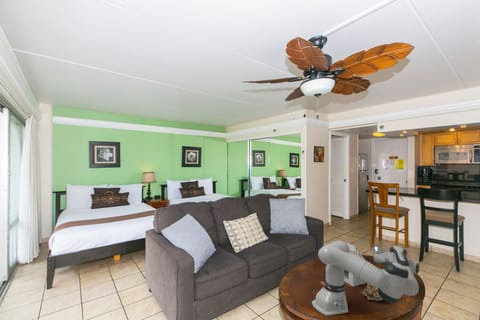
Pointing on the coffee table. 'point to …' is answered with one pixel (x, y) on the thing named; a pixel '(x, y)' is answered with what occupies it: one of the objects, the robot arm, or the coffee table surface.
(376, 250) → the brushed metal cylinder
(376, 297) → the mineral formation
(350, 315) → the coffee table surface
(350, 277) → the gable box
